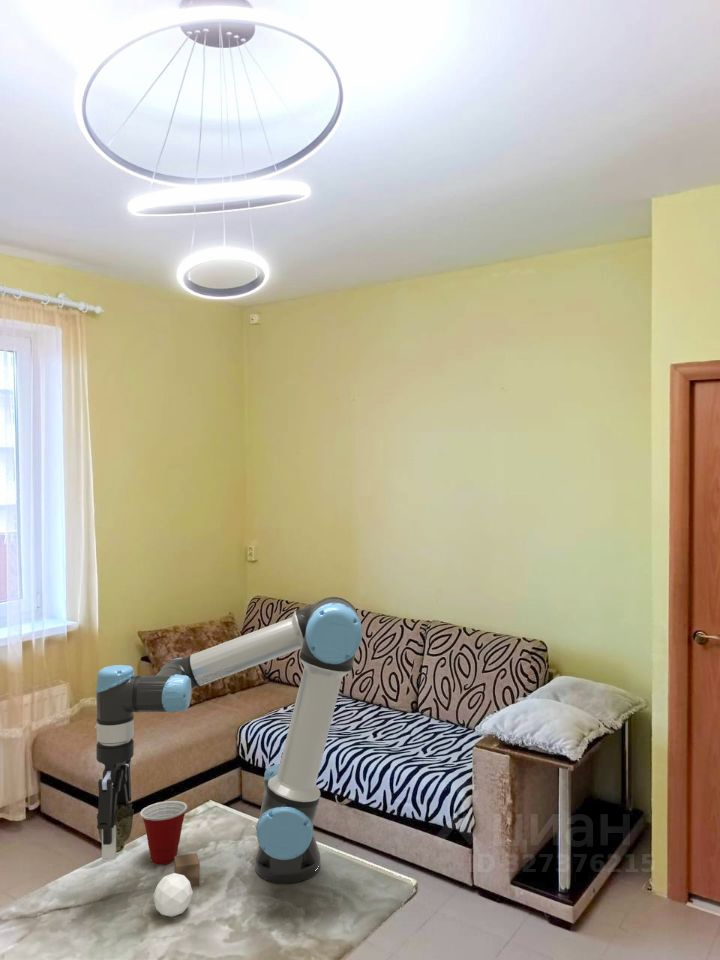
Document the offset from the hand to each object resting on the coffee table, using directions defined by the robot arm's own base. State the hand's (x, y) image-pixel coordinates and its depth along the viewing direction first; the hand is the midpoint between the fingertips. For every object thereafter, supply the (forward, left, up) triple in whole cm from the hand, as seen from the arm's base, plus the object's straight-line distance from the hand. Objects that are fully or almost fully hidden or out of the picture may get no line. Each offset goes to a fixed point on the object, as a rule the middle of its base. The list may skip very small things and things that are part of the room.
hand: (115, 848), depth 152 cm
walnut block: (-13, -8, -11) cm, 19 cm away
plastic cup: (-5, -18, -11) cm, 22 cm away
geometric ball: (-13, +4, -11) cm, 18 cm away
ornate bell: (0, 0, -1) cm, 1 cm away
